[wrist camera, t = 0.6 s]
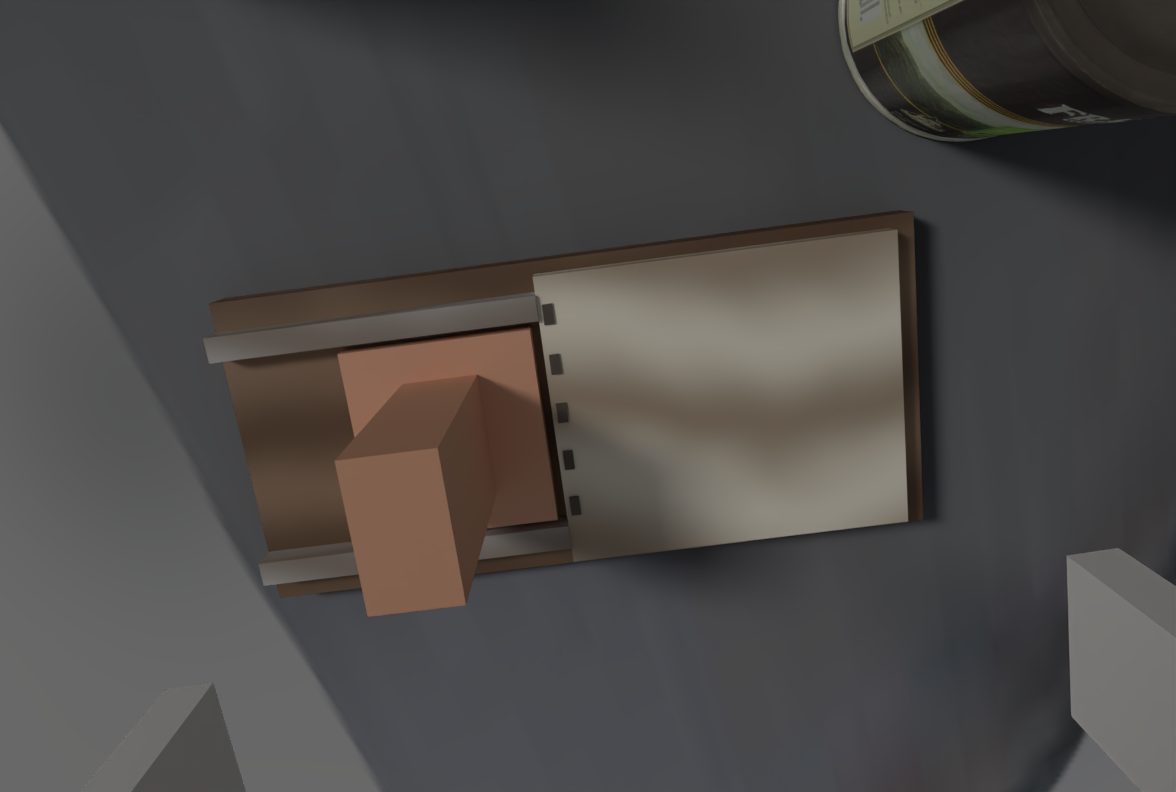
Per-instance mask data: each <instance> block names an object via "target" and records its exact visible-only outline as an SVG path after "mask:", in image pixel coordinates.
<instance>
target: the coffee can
mask: <svg viewBox="0 0 1176 792" xmlns="http://www.w3.org/2000/svg"><path fill="white" fill-rule="evenodd" d="M838 20H839V32H840V38H841V44H842V51H843V54H844V57H845V60H846V62H847V64H848V67H849V69H850V72H851V74H852V76H853V78H854V80H855V82H856V84H857V85H858V87H859V88H860V90H861V92H862V93H863V94H864V96H865V97H866V98H867V100H868V101H869V102H870V103H871V104H872V105H873V106H874V107H875V108H876V109H877V110H878V111H879V112H880V113H881V114H882V115H883V116H885V117H886V118H887V119H889V120H890V121H892V122H893V123H895V124H896V125H898V126H899V127H901V128H902V129H904V130H907V131H909V132H911V133H913V134H916V135H919V136H922V137H926V138H930V139H934V140H941V141H954V142H960V141H972V140H980V139H985V138H989V137H994V136H998V135H1006V134H1014V133H1022V132H1031V131H1039V130H1048V129H1057V128H1066V127H1075V126H1085V125H1095V124H1106V123H1113V122H1124V121H1134V120H1140V119H1149V118H1159V117H1168V116H1172V117H1176V0H839V7H838Z"/></svg>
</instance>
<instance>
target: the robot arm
mask: <svg viewBox="0 0 1176 792" xmlns="http://www.w3.org/2000/svg"><path fill="white" fill-rule="evenodd" d="M1067 582H1068V618H1069V654H1070V690H1071V716H1072V717H1073V718H1074V720H1075V721H1076V722H1077V723H1078V724H1079V725H1080V726H1081V727H1082V728H1083V729H1084V730H1085V731H1086V732H1087V734H1088V735H1089V736H1090V737H1091V738H1092V739H1093V740H1094V741H1095V742H1096V743H1097V744H1098V745H1099V746H1100V748H1101V749H1102V750H1103V751H1104V752H1105V753H1106V754H1107V755H1108V756H1109V757H1110V758H1111V759H1112V760H1113V761H1114V763H1115V764H1116V765H1117V766H1118V767H1119V768H1120V769H1121V770H1122V771H1123V772H1124V773H1125V774H1126V776H1127V777H1128V778H1129V779H1130V780H1131V781H1132V782H1133V783H1134V784H1135V785H1136V786H1137V787H1138V788H1139V789H1140V791H1141V792H1176V586H1174V585H1173V584H1171V583H1170V582H1168V581H1167V580H1165V579H1164V578H1162V577H1161V576H1159V575H1158V574H1156V573H1155V572H1153V571H1152V570H1150V569H1149V568H1147V567H1146V566H1144V565H1143V564H1141V563H1140V562H1138V561H1137V560H1135V559H1134V558H1132V557H1131V556H1129V555H1128V554H1126V553H1125V552H1123V551H1122V550H1120V549H1119V548H1115V549H1109V550H1102V551H1095V552H1088V553H1082V554H1075V555H1068V556H1067ZM80 792H246V791H245V788H244V784H243V781H242V777H241V774H240V771H239V767H238V764H237V761H236V757H235V754H234V751H233V747H232V744H231V741H230V737H229V734H228V730H227V727H226V724H225V721H224V717H223V714H222V710H221V707H220V704H219V700H218V697H217V694H216V690H215V687H214V684H213V683H207V684H200V685H193V686H187V687H180V688H173V689H166V690H164V692H163V693H162V694H161V695H160V696H159V698H158V699H157V700H156V701H155V702H154V703H153V705H152V706H151V707H150V708H149V710H148V711H147V712H146V713H145V714H144V715H143V717H142V718H141V719H140V720H139V721H138V723H137V724H136V725H135V726H134V727H133V729H132V730H131V731H130V732H129V734H128V735H127V736H126V737H125V738H124V740H123V741H122V742H121V743H120V744H119V745H118V747H117V748H116V749H115V750H114V751H113V753H112V754H111V755H110V756H109V757H108V759H107V760H106V761H105V762H104V763H103V764H102V766H101V767H100V768H99V769H98V770H97V772H96V773H95V774H94V775H93V776H92V778H91V779H90V780H89V781H88V782H87V784H86V785H85V786H84V787H83V788H82V790H81V791H80Z"/></svg>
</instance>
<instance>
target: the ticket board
mask: <svg viewBox="0 0 1176 792" xmlns="http://www.w3.org/2000/svg"><path fill="white" fill-rule="evenodd" d="M209 306H210V310H211V314H212V318H213V322H214V327H215V331H216V333H215V334H213V335H210V336H208V337H206V338H203V340H204V344H205V348H206V353H207V357H208V361H209V364H210V363H218V362H223V364H224V368H225V372H226V376H227V380H228V385H229V389H230V393H231V397H232V401H233V405H234V409H235V414H236V418H237V422H238V426H239V430H240V434H241V438H242V443H243V447H244V451H245V455H246V459H247V463H248V467H249V472H250V476H251V480H252V484H253V488H254V492H255V496H256V501H257V505H258V509H259V513H260V517H261V521H262V525H263V530H264V534H265V538H266V542H267V546H268V550H269V552H268V553H267V555H266V556H265V557H264V558H263V559H262V560H261V562H260V563H259V568H260V572H261V576H262V580H263V585H264V586H267V585H275V584H277V588H278V592H279V596H280V598H283V597H292V596H300V595H308V594H316V593H325V592H333V591H341V590H350V589H358V588H362V587H361V583H360V578H359V573H358V569H357V564H356V559H355V555H354V550H353V545H352V541H351V536H350V531H349V527H348V522H347V517H346V513H345V508H344V503H343V499H342V494H341V489H340V485H339V480H338V475H337V471H336V466H335V460H336V458H337V457H338V456H339V455H340V454H341V453H342V452H343V451H344V449H345V448H346V447H347V446H348V445H349V444H350V443H351V441H352V440H353V439H354V433H353V428H352V423H351V418H350V413H349V408H348V404H347V399H346V394H345V389H344V384H343V379H342V375H341V370H340V365H339V360H338V355H337V354H339V353H340V352H341V351H343V350H344V349H351V348H359V347H367V346H375V345H383V344H390V343H398V342H406V341H414V340H422V339H429V338H437V337H445V336H453V335H461V334H468V333H476V332H484V331H492V330H500V329H507V328H515V327H523V326H531V328H532V335H533V342H534V348H535V355H536V362H537V369H538V376H539V382H540V389H541V396H542V403H543V410H544V417H545V423H546V430H547V437H548V444H549V451H550V457H551V464H552V471H553V478H554V485H555V491H556V498H557V505H558V520H552V521H544V522H536V523H528V524H519V525H511V526H503V527H495V528H487V530H486V534H485V538H484V541H483V545H482V549H481V552H480V556H479V560H478V563H477V567H476V570H475V574H482V573H490V572H499V571H507V570H515V569H524V568H532V567H540V566H548V565H557V564H565V563H573V562H582V561H590V560H598V559H606V558H615V557H623V556H631V555H640V554H648V553H656V552H664V551H673V550H681V549H689V548H698V547H706V546H714V545H722V544H731V543H739V542H747V541H756V540H764V539H772V538H780V537H789V536H797V535H805V534H814V533H822V532H830V531H838V530H847V529H855V528H863V527H872V526H880V525H888V524H896V523H905V522H913V521H921V520H923V496H922V465H921V433H920V402H919V370H918V339H917V307H916V276H915V244H914V213H913V212H910V211H900V210H899V211H891V212H884V213H876V214H868V215H861V216H853V217H845V218H838V219H830V220H822V221H815V222H807V223H799V224H792V225H784V226H776V227H769V228H761V229H753V230H746V231H738V232H730V233H723V234H715V235H707V236H700V237H692V238H684V239H677V240H669V241H661V242H654V243H646V244H638V245H631V246H623V247H615V248H608V249H600V250H592V251H585V252H577V253H569V254H562V255H554V256H546V257H539V258H531V259H523V260H516V261H508V262H500V263H493V264H485V265H477V266H470V267H462V268H454V269H447V270H439V271H431V272H424V273H416V274H408V275H401V276H393V277H385V278H378V279H370V280H362V281H355V282H347V283H339V284H332V285H324V286H316V287H309V288H301V289H293V290H286V291H278V292H270V293H263V294H255V295H247V296H240V297H232V298H224V299H221V300H218V301H215V302H212V303H209Z"/></svg>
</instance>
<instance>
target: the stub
mask: <svg viewBox="0 0 1176 792" xmlns="http://www.w3.org/2000/svg"><path fill="white" fill-rule="evenodd" d="M337 355H338V360H339V365H340V370H341V375H342V379H343V384H344V389H345V394H346V399H347V404H348V408H349V413H350V418H351V423H352V428H353V433H354V439H353V440H352V441H351V443H350V444H349V445H348V446H347V447H346V448H345V449H344V451H343V452H342V453H341V454H340V455H339V456H338V457H337V458H336V460H335V466H336V471H337V475H338V480H339V485H340V489H341V494H342V499H343V503H344V508H345V513H346V517H347V522H348V527H349V531H350V536H351V541H352V545H353V550H354V555H355V559H356V564H357V569H358V573H359V578H360V583H361V587H362V592H363V597H364V601H365V606H366V611H367V615H368V617H370V616H378V615H387V614H395V613H403V612H412V611H420V610H428V609H437V608H445V607H453V606H462V605H466V603H467V600H468V596H469V592H470V589H471V585H472V581H473V578H474V574H475V570H476V567H477V563H478V560H479V556H480V552H481V549H482V545H483V541H484V538H485V534H486V530H487V528H495V527H503V526H511V525H519V524H528V523H536V522H544V521H552V520H558V505H557V498H556V491H555V485H554V478H553V471H552V464H551V457H550V451H549V444H548V437H547V430H546V423H545V417H544V410H543V403H542V396H541V389H540V382H539V376H538V369H537V362H536V355H535V348H534V342H533V335H532V328H531V326H523V327H515V328H507V329H500V330H492V331H484V332H476V333H468V334H461V335H453V336H445V337H437V338H429V339H422V340H414V341H406V342H398V343H390V344H383V345H375V346H367V347H359V348H351V349H344V350H343V351H341V352H340V353H339V354H337Z"/></svg>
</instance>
